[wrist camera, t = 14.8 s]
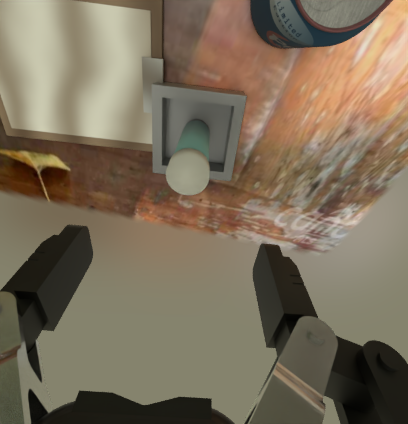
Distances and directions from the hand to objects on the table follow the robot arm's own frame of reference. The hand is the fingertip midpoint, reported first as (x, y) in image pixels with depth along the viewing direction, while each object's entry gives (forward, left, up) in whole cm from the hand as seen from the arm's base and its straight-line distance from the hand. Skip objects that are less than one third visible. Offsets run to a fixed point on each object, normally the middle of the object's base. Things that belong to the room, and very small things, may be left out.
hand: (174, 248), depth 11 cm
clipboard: (-13, +4, -20) cm, 24 cm away
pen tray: (0, 0, -20) cm, 20 cm away
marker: (0, 0, -19) cm, 19 cm away
